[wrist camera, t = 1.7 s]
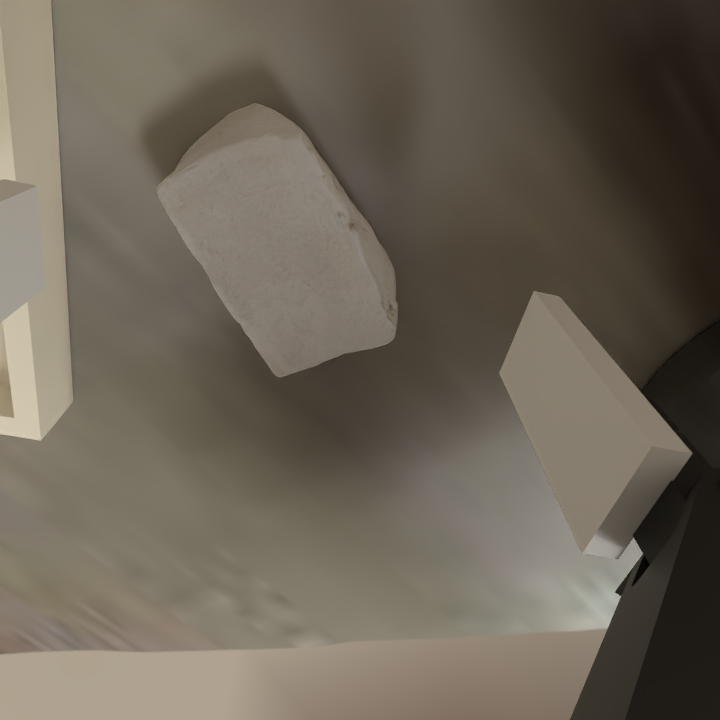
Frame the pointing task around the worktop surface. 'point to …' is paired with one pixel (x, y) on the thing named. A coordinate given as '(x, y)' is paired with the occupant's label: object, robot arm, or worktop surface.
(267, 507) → the worktop surface
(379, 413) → the worktop surface
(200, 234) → the grey rough-textured block
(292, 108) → the worktop surface
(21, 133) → the tray
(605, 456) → the robot arm
